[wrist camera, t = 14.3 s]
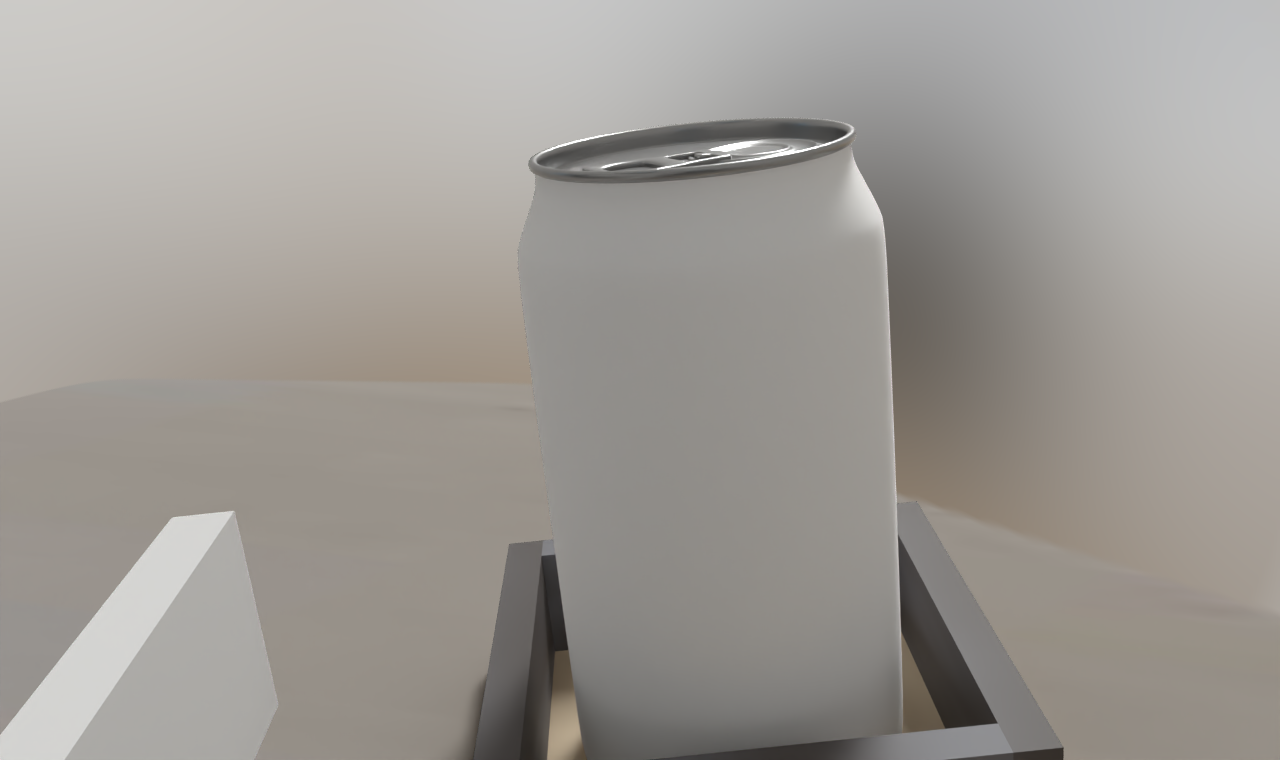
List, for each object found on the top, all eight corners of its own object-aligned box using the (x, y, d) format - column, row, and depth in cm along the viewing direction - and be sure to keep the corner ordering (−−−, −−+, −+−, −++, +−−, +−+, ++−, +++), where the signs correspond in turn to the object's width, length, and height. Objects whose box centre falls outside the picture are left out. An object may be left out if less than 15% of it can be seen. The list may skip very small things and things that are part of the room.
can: (975, 765, 23) (965, 126, 19) (673, 896, 21) (594, 194, 17) (790, 622, 29) (755, 107, 25) (536, 713, 26) (453, 154, 22)
